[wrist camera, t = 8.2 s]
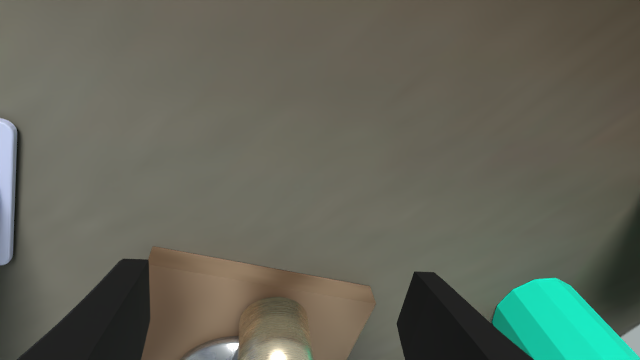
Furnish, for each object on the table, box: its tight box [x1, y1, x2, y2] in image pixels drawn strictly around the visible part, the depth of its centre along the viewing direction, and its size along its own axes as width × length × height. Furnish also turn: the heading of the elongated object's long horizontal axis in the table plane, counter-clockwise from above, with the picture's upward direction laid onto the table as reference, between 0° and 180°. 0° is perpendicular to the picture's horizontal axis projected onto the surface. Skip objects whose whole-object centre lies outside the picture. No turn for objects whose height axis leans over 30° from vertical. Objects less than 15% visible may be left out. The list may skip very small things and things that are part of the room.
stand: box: [141, 246, 376, 360], centre depth 26 cm, size 13×13×2 cm
